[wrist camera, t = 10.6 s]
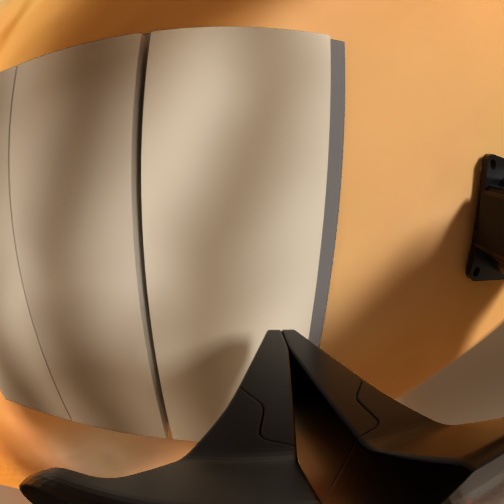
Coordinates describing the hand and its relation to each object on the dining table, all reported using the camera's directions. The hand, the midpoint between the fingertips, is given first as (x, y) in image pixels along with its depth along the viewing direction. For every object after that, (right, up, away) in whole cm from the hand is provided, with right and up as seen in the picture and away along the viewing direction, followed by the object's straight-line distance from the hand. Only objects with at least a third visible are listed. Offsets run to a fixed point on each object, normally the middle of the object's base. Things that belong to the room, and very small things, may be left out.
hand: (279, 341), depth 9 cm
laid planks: (-11, +2, +2) cm, 11 cm away
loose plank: (-2, +2, +2) cm, 3 cm away
